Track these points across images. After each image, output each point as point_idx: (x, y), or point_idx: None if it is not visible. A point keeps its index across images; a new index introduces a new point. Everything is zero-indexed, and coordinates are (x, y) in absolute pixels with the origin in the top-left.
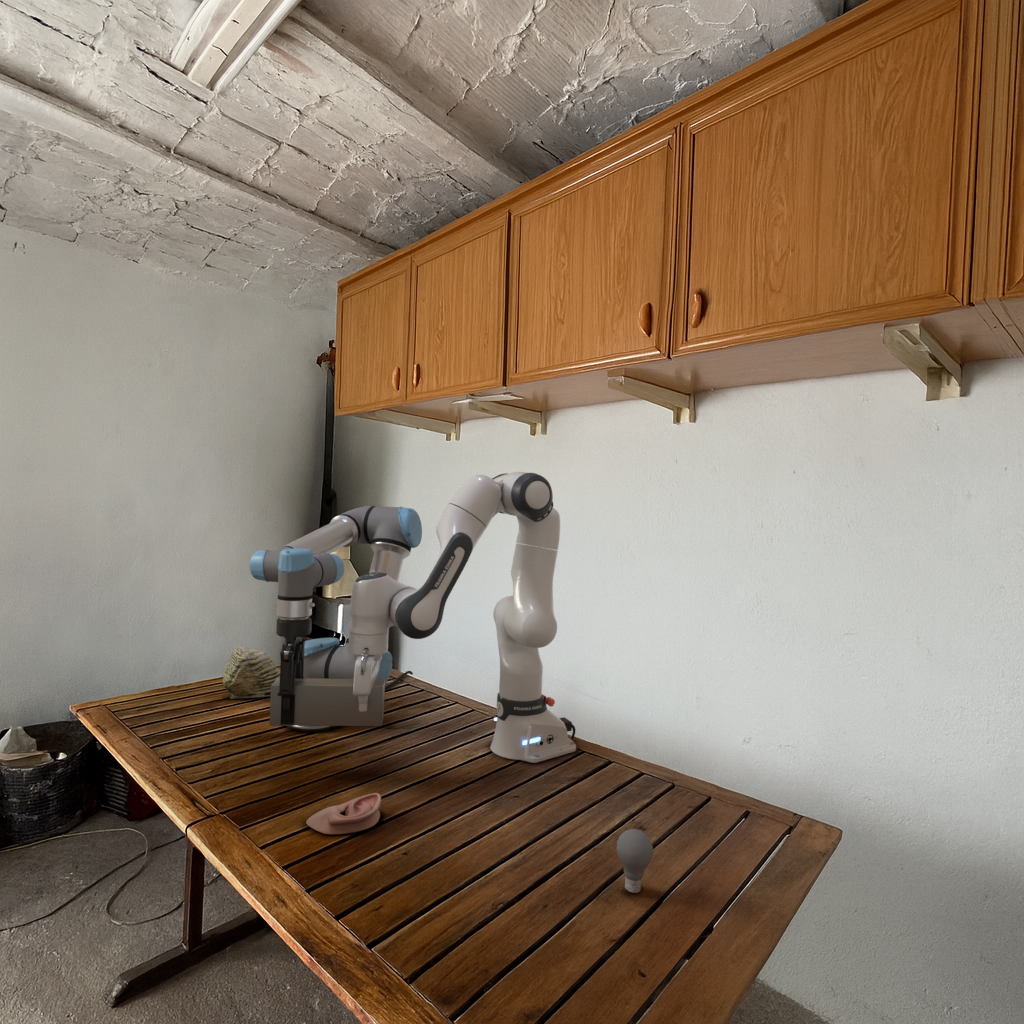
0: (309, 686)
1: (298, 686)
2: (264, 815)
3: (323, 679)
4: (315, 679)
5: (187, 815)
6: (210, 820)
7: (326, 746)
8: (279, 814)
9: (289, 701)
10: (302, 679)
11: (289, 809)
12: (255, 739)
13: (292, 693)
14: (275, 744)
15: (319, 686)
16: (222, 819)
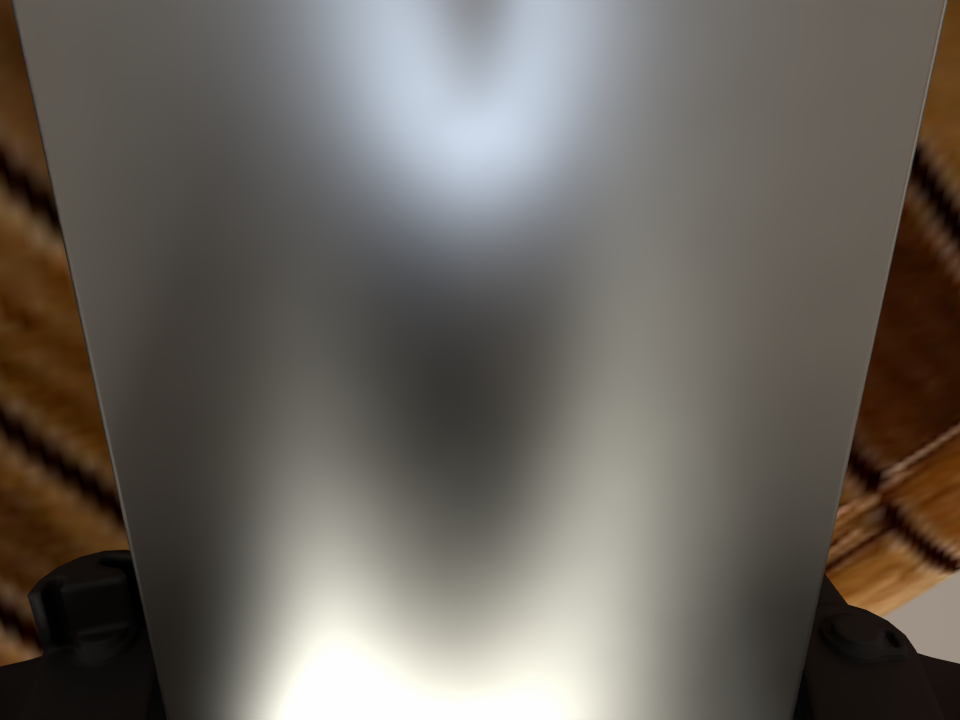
0: (846, 417)
1: (800, 655)
2: (948, 299)
3: (159, 124)
4: (213, 382)
5: (866, 598)
6: (934, 507)
7: (39, 146)
8: (957, 228)
9: (823, 581)
10: (279, 686)
11: (913, 189)
12: (33, 566)
13: (903, 644)
14: (78, 455)
15: (918, 118)
16: (938, 465)
